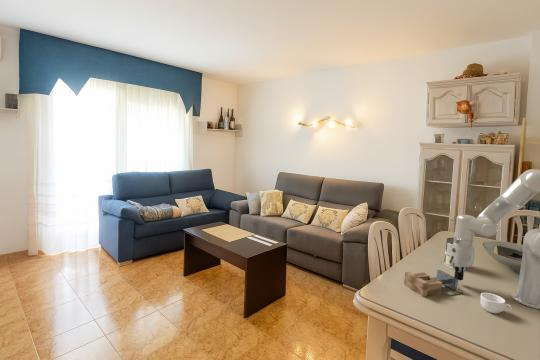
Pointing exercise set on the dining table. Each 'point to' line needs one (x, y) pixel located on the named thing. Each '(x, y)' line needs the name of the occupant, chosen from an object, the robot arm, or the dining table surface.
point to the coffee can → (448, 251)
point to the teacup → (493, 303)
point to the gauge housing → (425, 284)
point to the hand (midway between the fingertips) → (458, 278)
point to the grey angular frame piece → (446, 280)
